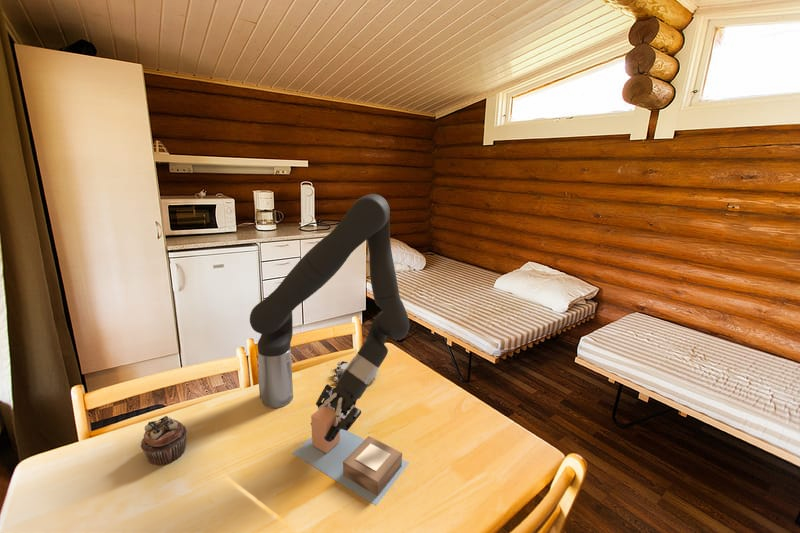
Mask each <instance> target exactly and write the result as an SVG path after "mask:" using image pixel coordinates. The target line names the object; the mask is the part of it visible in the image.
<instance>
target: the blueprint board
mask: <svg viewBox="0 0 800 533" xmlns="http://www.w3.org/2000/svg"><path fill="white" fill-rule="evenodd" d="M364 440H365V438H362V437H360V436H358V435H356V434H355V433H353V432H351V431H349V430H347V431H346V430H343V429H341V430H340V442H339V443H337V444H336V445H335V446H334V447H333V448H332V449H331V450H330V451H329V452H328V453H325V452H323V451H322V450H320V449H318V448H317V447H315V446H313V445H312V436H311V437H310V438H309V439H308V440H307V441H305V442H304V443H303V444H302V445H301V446H299V447H298V448H296V449H295V450H294V451H293V452H292V454H293V455H295V457H297V458H299V459H301V460H303V461H304V462H306V464H308V465H310V466H311V467H313V468H314V469H316V470H319V472H322V473H323V474H325V475H326V476H328V477H329V478H331V479H333V480H334V481H336V482H337V483H339V484H340V485H342V486H344V487H345V488H347V489H349V490H350V491H352V492H353V493H355V494H357V495H358V496H360V497H361V498H363V499H365V500H366V501H367V502H370V503H371V504H372V505H373V506H378V504H379V503H380V501H382V499H383V498H384V496H385V495H386V494H387V493H388V491H389V490H390V488H391V487H392V486H393V484H394V483H395V482H396V481H397V480H398V479H399V477H400V475H402V473H403V471H404V470H405V469H406V467H407V466H408V465H409V464H410V462H408V461H407V460H405V459H403V458H402V466H401V468H400V469H399V470H398V472H397V473H396V474H395V475H394V477H393V478H392V479H391V480H390V482H389V483H388V484H387V485H386V487H385V488H384V489H383V490H382V492H381V493H380V494H379V496H376V495H375V494H373V493H371V492H370V491H368V490H366V489H365V488H363V487H361V486H360V485H358V484H356V483H355V482H353V481H351V480H350V479H348V478H347V477H345V476H343V461H344V460H345V459H346V458H347V457H348V456H349V455H350V454H351V453H352V452H353V451H354V450H355V449H356V448H357V447H358V446H359V445H360V444H361V443H362V442H363V441H364Z"/></svg>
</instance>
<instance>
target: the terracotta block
mask: <svg viewBox="0 0 800 533" xmlns="http://www.w3.org/2000/svg"><path fill="white" fill-rule="evenodd" d="M335 413H336V410H335V409H332V408H330V407H328V406H326V407H325V406H323V407H322V408H321V409H319V410H318V409H317V411H315V412H314V413H313V414H311V415H310V417H311V420H310V421H311V422H310V424H311V423H312V425H311V437H312V445H313V446H315V447H317V448H318V449H320V450H322V451H323V452H325V453H328V452H329V451H330V450H331V449H332V448H333V447H334V446H335V445H336V444H337V443H339V442H340V431H339V432H338V434H337V435H336V437H335V438H334V440H333V441H331V442H328V441H326V440H325V439H324V437H325V436H326V434H327V433H328V431H329V430H330V428H331V426H332V425H333V426H334V422H335V418H336V416H335ZM339 423H340V422H339Z"/></svg>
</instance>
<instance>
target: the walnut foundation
mask: <svg viewBox="0 0 800 533" xmlns="http://www.w3.org/2000/svg"><path fill="white" fill-rule="evenodd" d="M402 459H403V452H402V451H399V450H397V449H395V448H394V447H391V446H389V445H388V444H386V443H384V442H381V441H380V440H378V439H375V438H373V437H372V436H370V435H369V436H367V437H366V438H364V441H363V442H362V443H361V444H360V445H359V446H358V447H357V448H356V449H355V450H354V451H353V452H352V453H351V454H350V455H349V456H348V457H347V458H346V459H345V460H344V461H343V476H345V477H347V478H348V479H350V480H351V481H353V482H355V483H356V484H358V485H360V486H361V487H363V488H365V489H366V490H368V491H370V492H371V493H373V494H375V495H376V496H379V494H380V493H381V492H382V490H383V489H384V488H385V487H386V485H387V484H388V483H389V482H390V480H391V479H392V478H393V477H394V475H395V474H396V473H397V472H398V470H399V469H400V468H401V466H402Z"/></svg>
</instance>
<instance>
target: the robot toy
mask: <svg viewBox="0 0 800 533" xmlns="http://www.w3.org/2000/svg"><path fill="white" fill-rule="evenodd" d="M336 363H337V367H336V368H335V369H334V372H335V374H336V376H334V377H333V381H335V382H337V381H338V379H339V378H340V377H341V375H342V374H343V372H344V371H345V369H346V368H347V366H348V365H349V363H350V362H348V361H338V362H336ZM378 373H379V369H378V370H377V372H376V374H375V376H374V378H373V379H372V381H373V380H375V379H376V377H377V376H378Z"/></svg>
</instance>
